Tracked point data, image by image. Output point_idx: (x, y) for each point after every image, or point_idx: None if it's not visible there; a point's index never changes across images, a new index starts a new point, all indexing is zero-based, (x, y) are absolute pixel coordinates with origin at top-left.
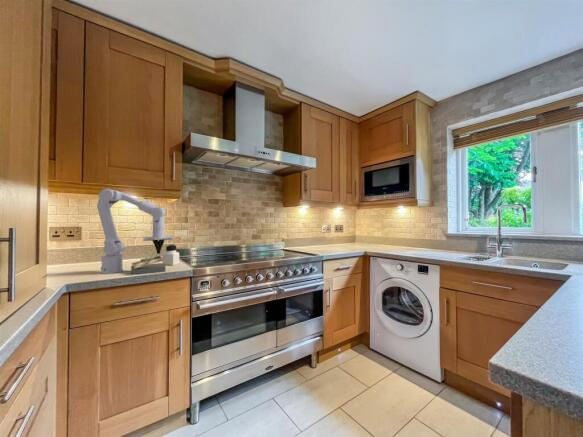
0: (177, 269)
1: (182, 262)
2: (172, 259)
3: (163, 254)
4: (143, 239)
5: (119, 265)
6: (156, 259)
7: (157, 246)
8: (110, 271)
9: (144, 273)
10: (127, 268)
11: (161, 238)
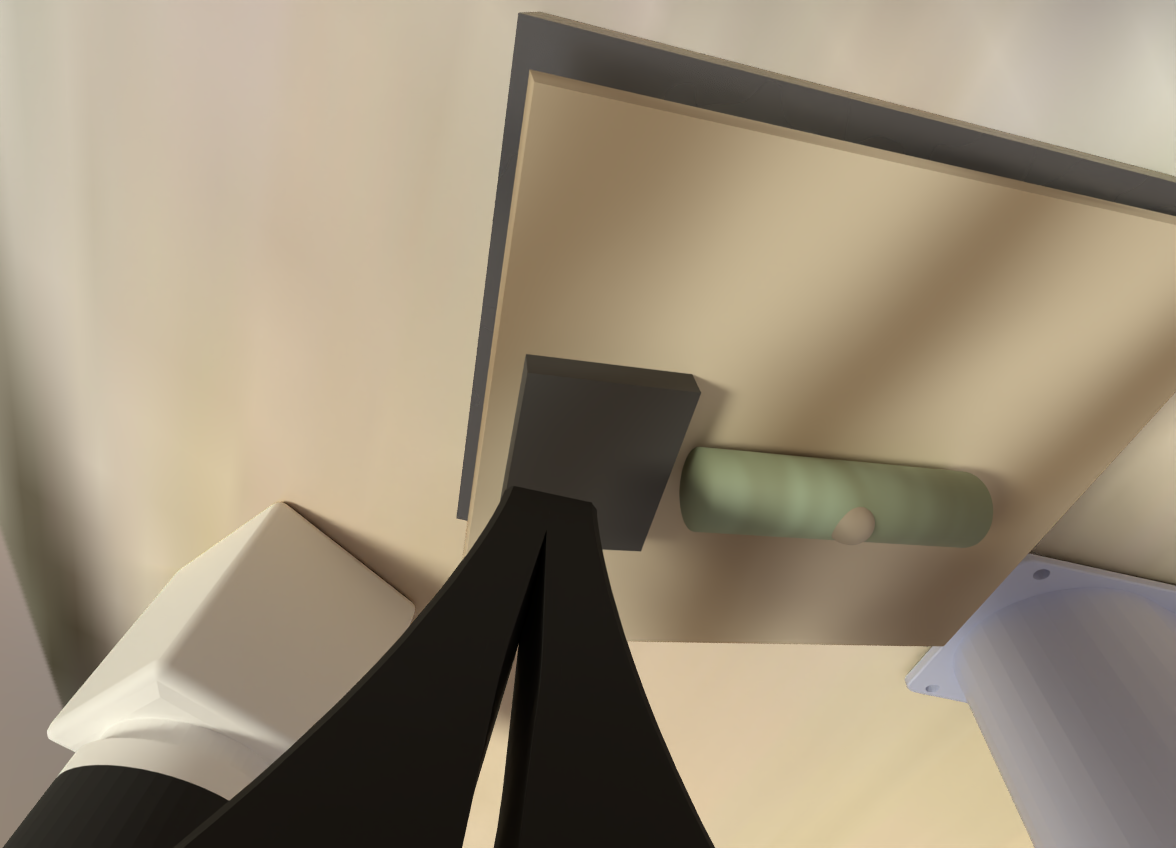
0: (251, 69)
1: (134, 604)
2: (236, 581)
3: None
4: None
5: (1104, 664)
6: (690, 285)
7: (591, 758)
8: (1168, 612)
9: (964, 123)
10: (824, 695)
11: None
